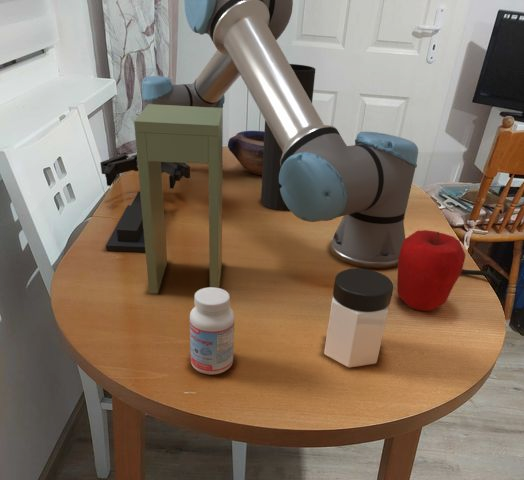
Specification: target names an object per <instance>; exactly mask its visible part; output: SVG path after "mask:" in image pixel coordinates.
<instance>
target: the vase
mask: <svg viewBox="0 0 524 480" xmlns="http://www.w3.org/2000/svg"><path fill="white" fill-rule="evenodd" d="M289 64H290V66H291V68H292V69H293V71H294V73H295V75H296V76H297V78H298V80H299V82H300V83H301V85H302V87H303V89H304V90H305V92H306V94H307V96H308V97H309V99H310V101H311V103H312V104H313V99H314V98H313V97H314V88H315V79H316V78H315V77H316V68H315V67H313V66H310V65H305V64H296V63H289ZM263 131H264V150H263V170H262V175H261V190H260V203H261V204H262V206H264V207H266V208H268V209H271V210H275V211H290V210H289V209H288V207H287V206H286V204H285V202H284V200H283V198H282V195H281V192H280V188H282V186H281V184H279V173H280V169H281V166H280V160H281V157H282V154H283V152H282V150H281V148H280V146H279V144H278V143H277V141H276V139H275V137H274V135H273V133H272V132H271V130H270V128H269V126H268V124H267V122H266V121H265V120H264V130H263Z"/></svg>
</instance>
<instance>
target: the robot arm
mask: <svg viewBox="0 0 524 480" xmlns="http://www.w3.org/2000/svg"><path fill="white" fill-rule="evenodd" d="M183 3H184V13H185V18H186V21H187V24H188V26H189V28H190V30H191V31H192V32H193V33H195V34H198V35H203V36H204V35H205V34H207V35H208V36H209V37H210V39H211V41H212V43H213V45H214V47H215V48H216V51H215V53H214V54H213V55H212V57H211V58H210V59H209V60H208V62H207V64H206V65H205V66H204V68H203V69H202V70H201V72H200V73H199V74H198V76H197V77H196V79H195V80H194V82H192V83H183V84H182V83H181V84H173V82H172V79H171V78H170V77H167V76H162V75H149V76H146V77H144V78H143V79H142V81H141V100H142V101H141V102H142V111H143V110H144V109H145V107H146V106H147V105H148V104H156V105H175V106H194V107H213V108H223V109H224V104H225V101H226V100H225V99H226V97H225V96H226V95H225V94H226V93H227V92H228V90H230V88H232V86H233V85H234V83H235V82H236V81H237V80H238V79H239V78H240V77H241V79H242V81H243V83H244V84H245V86H246V88H247V91H248V92H249V93H250V95H251V98H252V99H253V102H254V103H255V104H256V106H257V109H258V110H259V111H260V113H261V115H262V117H263V119H264V122H265V121H266V122H267V124H268V126H269V128H270V130H271V132H272V133H273V135H274V137H275V139H276V141H277V143H278V144H279V146H280V148H281V150H282V152H283V154H282V157H281V160H280V166H281V169H280V173H279V184H281V186H282V188H280V192H281V195H282V198H283V200H284V202H285V204H286V206H287V207H288V209H289V210H288V211H290V212H291V213H292V215H294V216H295V217H296V218H297V219H299V220H302V221H304V222H308V223H316V222H329V221H333V220H335V219H337V218H340V217H342V218H341V221H340V222H339V225H338V226H337V229H335V230H336V231H335V233H333V236H332V240H331V246H330V250H331V253H332V254H333V256H334V257H335V258H337V259H338V260H340V261H342V262H343V263H346V264H349V265H352V266H355V267H359V268H363V269H371V270H374V269H377V270H379V269H381V270H382V269H390V268H394V267H398V257H399V253H400V250H401V247H402V244H403V241H404V239H406V232H405V230H406V229H405V223H404V222H405V216H406V211H407V208H408V204H409V199H410V194H411V190H412V185H413V181H414V177H415V172H416V168H417V167H418V164H417V163H418V162H417V161H418V158H419V157H418V155H419V147H418V146H417V144H416V143H415V142H414V141H412V140H409V139H407V138H404V137H400V136H397V135H392V134H388V133H384V132H383V133H382V132H375V131H360V132H358V133H357V135H356V138H355V139H354V145H353V144H352V145H347V144H346V142H345V141H344V139H343V137H342V136H341V133H340V131H339V130H338V129H337V127H335V126H333V125H328V124H324V122H323V120H322V118H321V117H320V114H319V113H318V112H317V109H316V108H315V106H314V105H313V102H312V103H311V101H310V99H309V97H308V96H307V94H306V92H305V90H304V89H303V87H302V85H301V83H300V82H299V80H298V78H297V76H296V75H295V73H294V71H293V69H292V68H291V66H290V64H291V63H290V62H289V61H288V59H287V57H286V55H285V53H284V52H283V50H282V48H281V47H280V45H279V43H278V41H277V40H278V39H279V38H280V37H281V35H282V34H283V33H284V31H285V30H286V29H287V26H288V25H289V23H290V20H291V18H292V17H291V16H292V14H293V5H294V0H184V2H183ZM99 165H100V170H101V175H104V176H105V180H106V186H107V187H111V186H112V184H113V183H114V182H115V180H116V179H117V177H118V175H120V174H124V173H128V172H131V171H134V172H138V161H137V153H136V154H133V155H131V156H130V155H129V154H128V153H127V152H122V153H120V155H117V156H114V157H111V158H108V159H106V160H103V161H100V162H99ZM161 172H162V173H166V174H168V175H169V176H168V179H169V180H168V181H169V182H168V183H169V189H170V190H173V189H174V188H175V185H176V182H181V180H182V179H183V177H184V178H185V179H190V178H191V166H190V165H189V164H188V163H178V162H161ZM332 228H333V229H332V230H334V227H332ZM460 275H468V276H481V277H486V278H488V279H490V281H492V282H493V284H495V285H500V284H501V282H500V280H499V279H498V278H497V276H496V275H495V274H493V273H491V272H489V271H486V270H478V269H473V270H472V269H465V268H463V269H462V272H461V273H460Z"/></svg>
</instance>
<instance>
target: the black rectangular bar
mask: <svg viewBox="0 0 524 480" xmlns="http://www.w3.org/2000/svg"><path fill="white" fill-rule="evenodd" d="M130 205H131V206H130V207H129V209H128V211H127V212H126V214H125V216H124V218H123V219H122V221H121V223H120V225H119V226H118V228H117V237H118V241H120V242H138V241H139V239H140V237H141V235H142V233H143V231H144V229H143V217H142V206H141V195H140V191H138V192H137V193H136V195H135V197H134V199H133V200H132V202H131V204H130Z"/></svg>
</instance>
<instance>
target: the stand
mask: <svg viewBox="0 0 524 480" xmlns="http://www.w3.org/2000/svg"><path fill="white" fill-rule="evenodd" d="M223 115H224V107H223V108H213V107H194V106H175V105H156V104H148V105H147V106H146V107H145V109H144V110H143V109H142V111H141V112H140V113H139V115H137V117H136V118H135V119H134V120H133V126H134V136H135V148H136V154H137V161H138V166H137V167H138V171H137V172H138V183H139V192H140V195H141V206H142V217H143V229H144V240H145V251H146V252H145V261H146V272H147V273H146V274H147V283H148V294H155V295H159V291H160V288H161V284H162V281H163V279H164V278H163V277H164V274H165V271H166V268H167V266H168V265H167V264H168V254H167V253H168V252H167V238H166V237H167V236H166V223H165V206H164V187H163V174H162V172H161V162H178V163H186V164H201V165H208V226H209V227H208V233H209V234H208V242H209V243H208V245H209V246H208V249H209V251H208V252H209V253H208V255H209V258H208V259H209V287H215V288H220V285H221V277H222V276H221V275H222V268H223V267H222V265H223V152H224V151H223V148H224V147H223V143H224V142H223V141H224V139H223V137H224V135H223V134H224V133H223V129H224V127H223V125H224V123H223V122H224V121H223V117H224V116H223Z"/></svg>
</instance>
